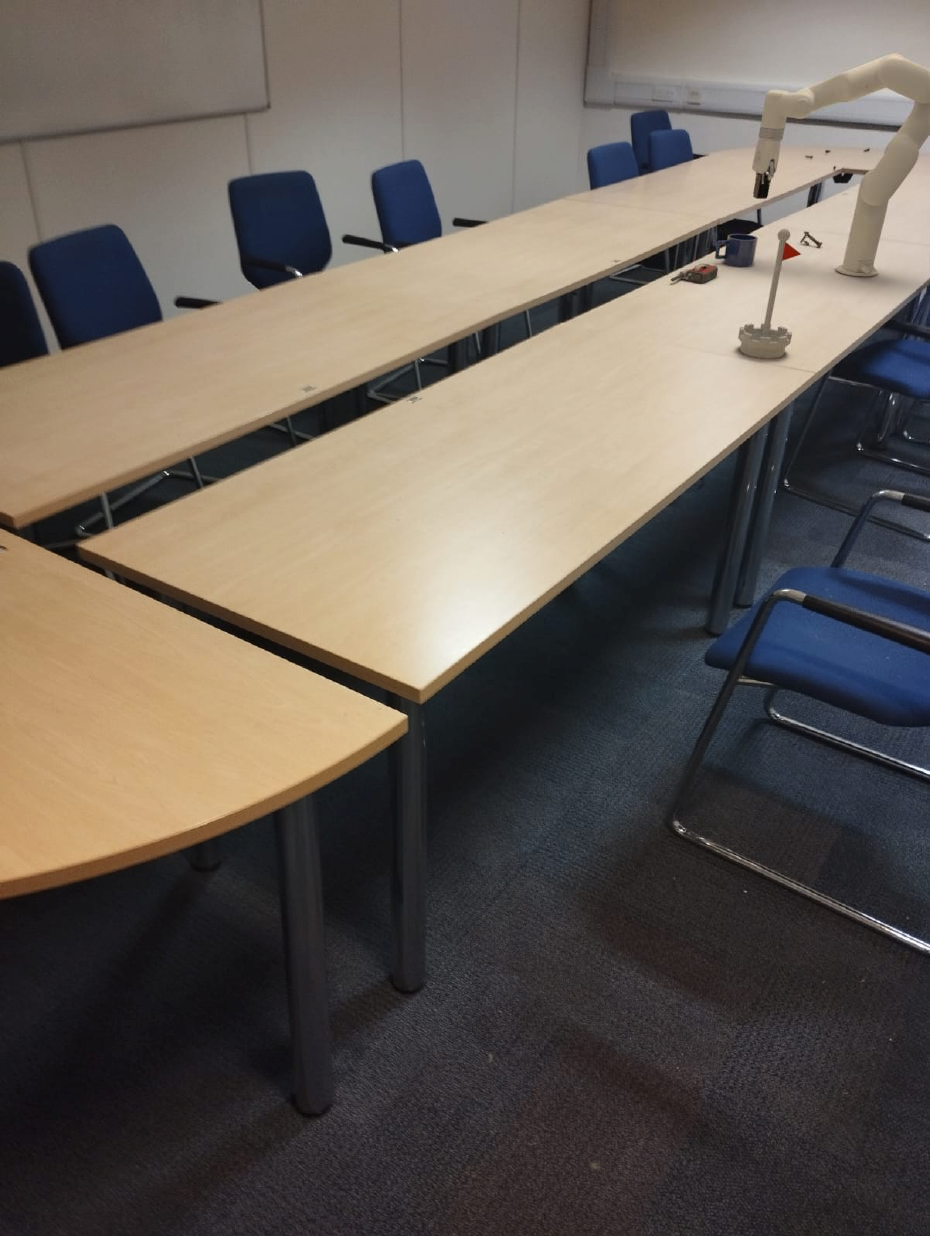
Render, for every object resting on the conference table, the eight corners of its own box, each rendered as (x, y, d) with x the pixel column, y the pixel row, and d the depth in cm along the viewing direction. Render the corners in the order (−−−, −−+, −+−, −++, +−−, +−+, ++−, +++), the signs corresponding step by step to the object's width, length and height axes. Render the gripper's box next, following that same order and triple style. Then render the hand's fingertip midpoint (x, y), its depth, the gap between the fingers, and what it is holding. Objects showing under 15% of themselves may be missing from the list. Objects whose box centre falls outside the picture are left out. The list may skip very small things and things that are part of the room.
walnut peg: (766, 198, 319) (770, 175, 315) (756, 198, 319) (760, 175, 315) (762, 196, 322) (767, 173, 318) (753, 196, 321) (757, 173, 318)
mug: (747, 259, 335) (751, 233, 330) (757, 266, 327) (762, 240, 322) (709, 260, 334) (713, 233, 329) (718, 267, 325) (722, 240, 321)
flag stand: (727, 352, 250) (748, 229, 234) (748, 340, 259) (770, 220, 243) (775, 363, 244) (800, 237, 227) (796, 350, 252) (821, 228, 236)
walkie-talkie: (694, 271, 320) (667, 284, 306) (696, 257, 317) (669, 269, 303) (719, 275, 315) (693, 288, 302) (721, 261, 313) (695, 274, 299)
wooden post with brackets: (799, 240, 358) (806, 229, 354) (816, 253, 355) (823, 242, 352) (797, 240, 357) (804, 229, 353) (813, 253, 354) (820, 242, 351)
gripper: (750, 130, 316) (740, 191, 326) (769, 137, 303) (757, 200, 313) (773, 130, 317) (762, 191, 327) (792, 137, 303) (780, 200, 313)
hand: (760, 195), depth 320 cm, fingers closed on walnut peg, 3 cm apart
